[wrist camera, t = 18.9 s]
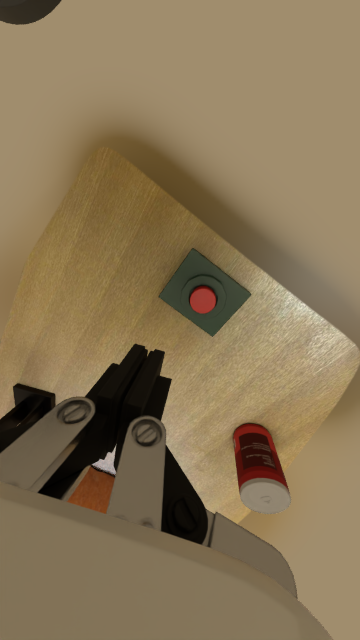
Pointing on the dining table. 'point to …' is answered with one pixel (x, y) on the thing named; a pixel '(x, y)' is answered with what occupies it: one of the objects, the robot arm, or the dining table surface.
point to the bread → (93, 491)
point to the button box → (207, 274)
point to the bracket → (27, 406)
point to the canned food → (259, 471)
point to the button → (203, 299)
